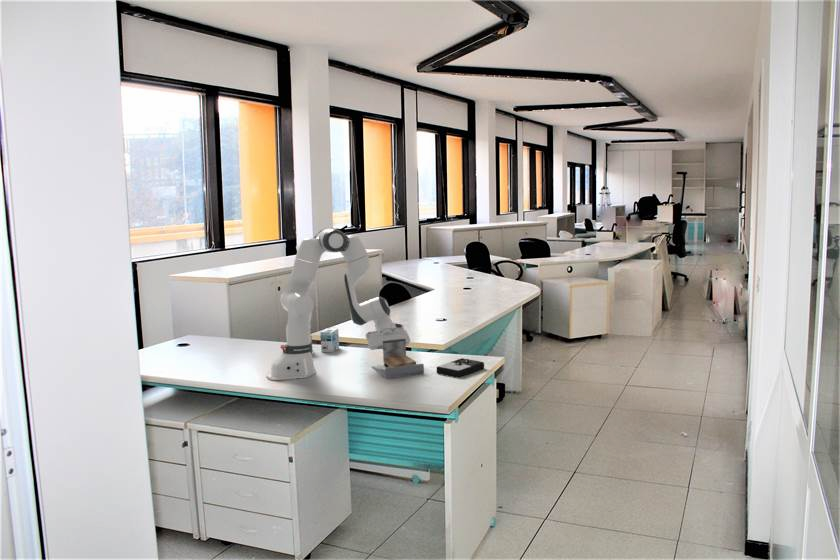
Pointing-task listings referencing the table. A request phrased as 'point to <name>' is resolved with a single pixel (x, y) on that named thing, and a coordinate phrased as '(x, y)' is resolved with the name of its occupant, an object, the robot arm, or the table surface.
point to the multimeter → (460, 367)
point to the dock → (399, 370)
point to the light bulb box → (329, 340)
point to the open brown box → (396, 353)
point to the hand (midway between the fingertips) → (392, 354)
